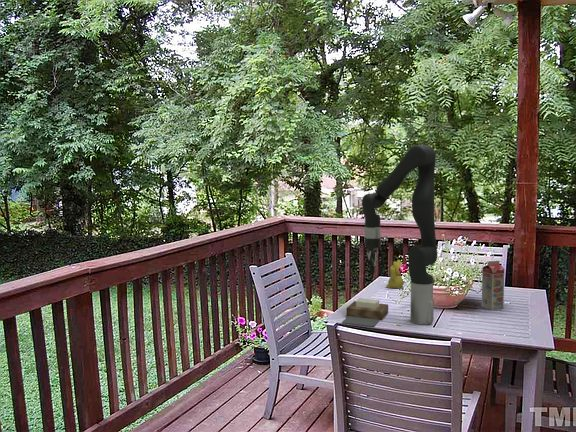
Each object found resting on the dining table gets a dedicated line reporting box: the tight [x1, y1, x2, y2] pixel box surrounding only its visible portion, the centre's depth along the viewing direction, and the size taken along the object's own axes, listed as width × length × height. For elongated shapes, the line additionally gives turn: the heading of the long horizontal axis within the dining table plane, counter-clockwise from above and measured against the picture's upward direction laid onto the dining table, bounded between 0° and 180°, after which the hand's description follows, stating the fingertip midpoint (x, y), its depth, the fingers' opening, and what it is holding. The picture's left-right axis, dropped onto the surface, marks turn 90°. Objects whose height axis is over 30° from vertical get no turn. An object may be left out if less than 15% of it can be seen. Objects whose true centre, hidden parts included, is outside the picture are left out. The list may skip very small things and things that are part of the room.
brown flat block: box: [345, 300, 389, 321], centre depth 223 cm, size 16×12×4 cm
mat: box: [341, 316, 380, 328], centre depth 213 cm, size 14×10×1 cm
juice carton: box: [481, 260, 505, 311], centre depth 230 cm, size 7×7×22 cm
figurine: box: [386, 259, 405, 289], centre depth 271 cm, size 11×9×15 cm
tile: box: [355, 297, 380, 309], centre depth 222 cm, size 9×6×2 cm, turn 66°
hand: (372, 273), depth 229 cm, fingers closed
